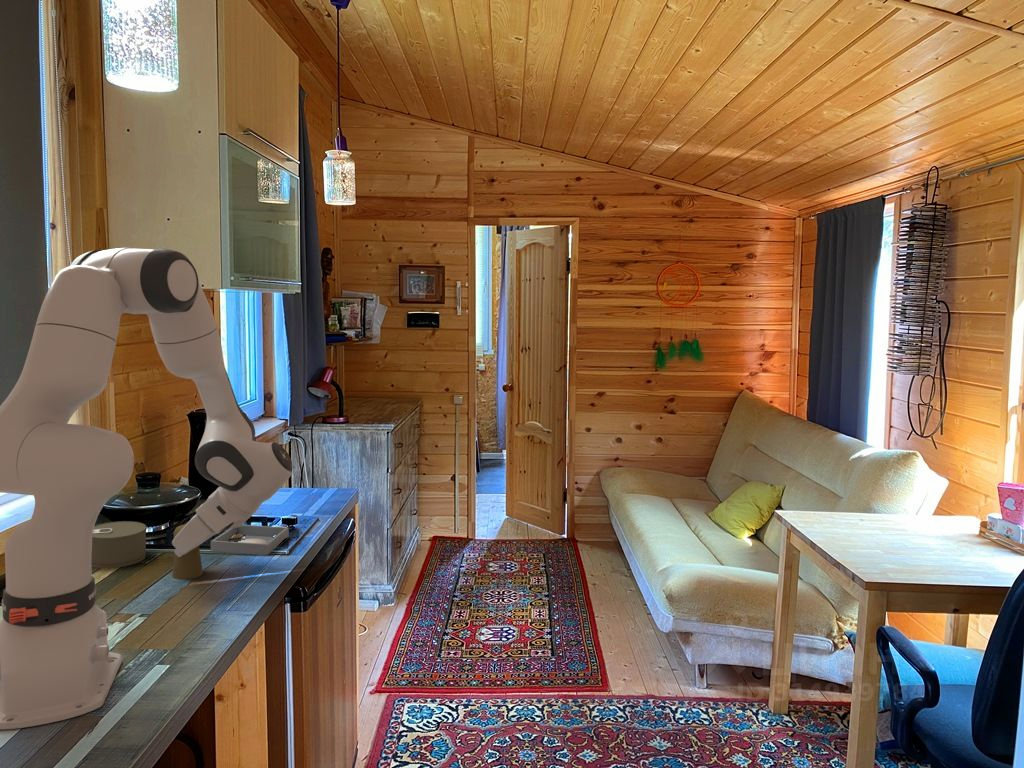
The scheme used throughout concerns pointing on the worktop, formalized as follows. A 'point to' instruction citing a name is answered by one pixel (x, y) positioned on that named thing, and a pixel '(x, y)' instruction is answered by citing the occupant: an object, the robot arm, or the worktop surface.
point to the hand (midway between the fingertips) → (184, 549)
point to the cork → (187, 562)
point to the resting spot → (254, 541)
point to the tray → (251, 533)
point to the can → (118, 544)
